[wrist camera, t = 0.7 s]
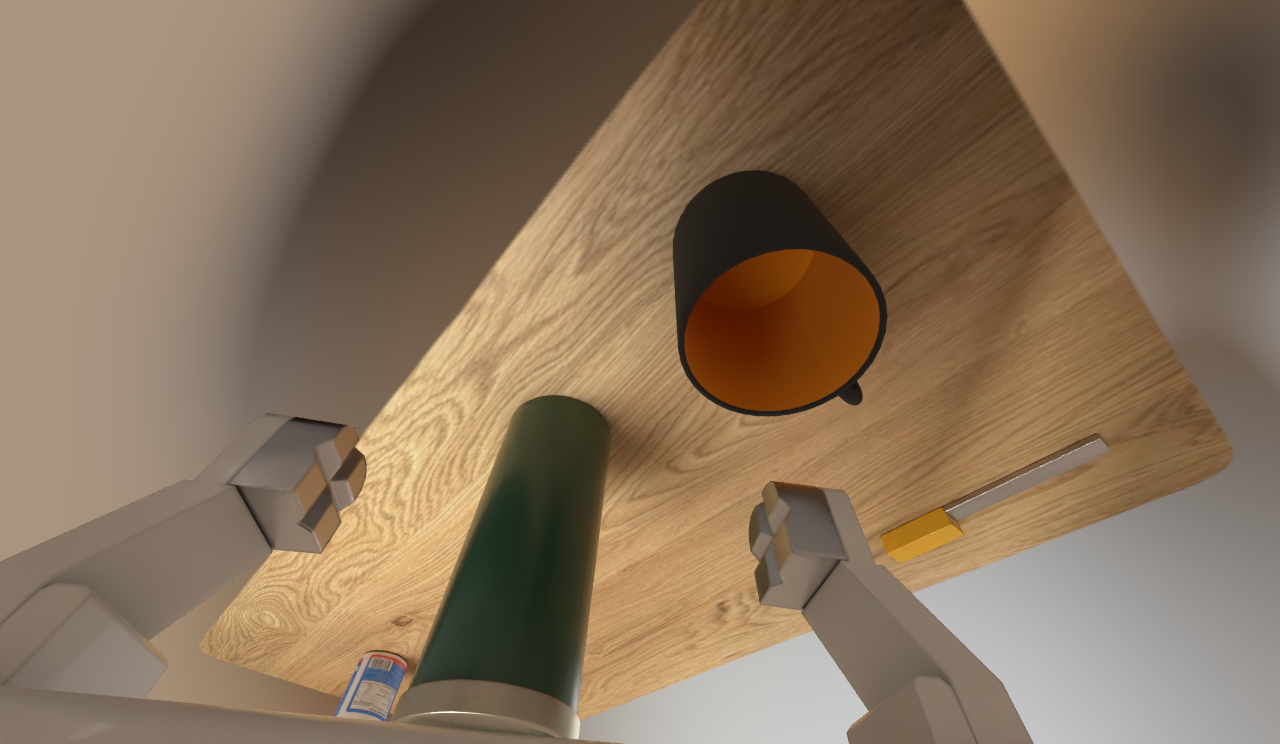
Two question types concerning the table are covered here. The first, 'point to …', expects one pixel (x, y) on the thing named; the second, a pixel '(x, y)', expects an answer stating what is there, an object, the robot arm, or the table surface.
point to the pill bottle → (372, 687)
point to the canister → (521, 584)
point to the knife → (984, 501)
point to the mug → (771, 299)
